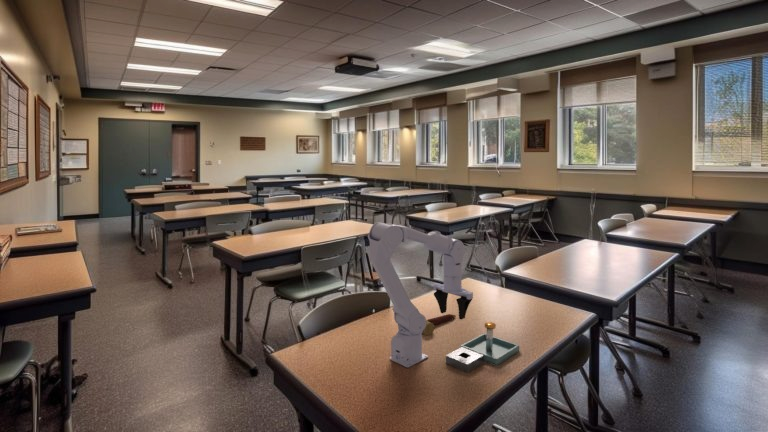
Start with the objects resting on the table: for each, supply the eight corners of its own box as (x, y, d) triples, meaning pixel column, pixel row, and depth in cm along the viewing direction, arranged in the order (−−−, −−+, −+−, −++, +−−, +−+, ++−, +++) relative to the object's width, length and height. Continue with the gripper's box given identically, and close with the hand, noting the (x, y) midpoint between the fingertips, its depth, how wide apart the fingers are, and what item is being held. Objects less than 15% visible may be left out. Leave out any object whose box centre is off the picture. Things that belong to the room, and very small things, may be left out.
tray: (496, 365, 123) (496, 359, 122) (460, 351, 132) (460, 345, 132) (519, 351, 131) (519, 345, 131) (483, 338, 141) (483, 333, 141)
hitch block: (467, 372, 119) (467, 364, 119) (445, 363, 125) (445, 355, 124) (483, 363, 124) (483, 355, 124) (461, 354, 130) (461, 346, 130)
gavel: (446, 306, 165) (465, 313, 157) (445, 318, 165) (464, 325, 157) (406, 316, 152) (425, 324, 144) (406, 328, 152) (424, 337, 144)
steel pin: (490, 354, 129) (491, 327, 127) (481, 350, 131) (482, 324, 130) (496, 350, 131) (497, 324, 130) (487, 346, 134) (488, 321, 132)
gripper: (478, 276, 131) (478, 317, 133) (442, 268, 141) (443, 307, 143) (465, 281, 126) (465, 324, 128) (429, 272, 137) (429, 312, 138)
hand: (452, 315), depth 135 cm, fingers open, 7 cm apart
